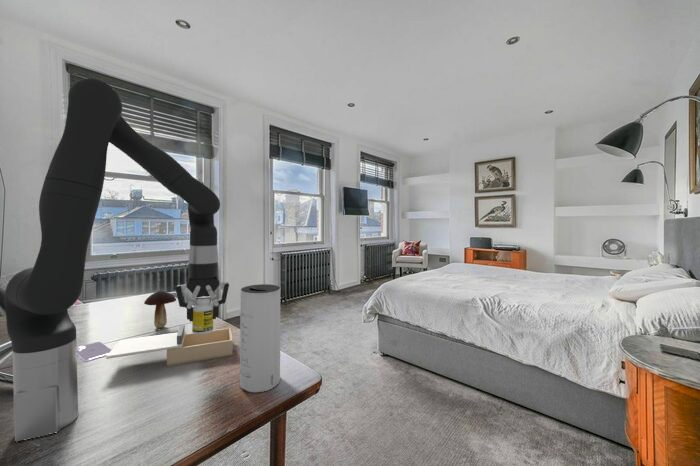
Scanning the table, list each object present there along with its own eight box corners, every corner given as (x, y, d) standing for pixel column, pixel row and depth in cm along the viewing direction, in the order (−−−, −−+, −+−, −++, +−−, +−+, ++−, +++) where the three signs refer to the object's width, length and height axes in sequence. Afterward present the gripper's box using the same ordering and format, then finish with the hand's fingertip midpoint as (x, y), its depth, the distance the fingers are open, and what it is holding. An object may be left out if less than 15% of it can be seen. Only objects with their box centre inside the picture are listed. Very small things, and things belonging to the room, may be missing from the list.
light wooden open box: (232, 355, 93) (232, 340, 93) (166, 366, 85) (166, 350, 85) (230, 341, 104) (230, 327, 104) (172, 350, 96) (172, 335, 96)
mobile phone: (84, 360, 88) (70, 348, 96) (84, 363, 88) (71, 351, 96) (115, 351, 94) (100, 340, 102) (115, 354, 94) (100, 343, 102)
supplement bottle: (204, 335, 80) (204, 300, 80) (187, 334, 81) (188, 299, 81) (217, 329, 85) (217, 296, 85) (201, 327, 86) (201, 295, 86)
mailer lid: (181, 347, 87) (181, 336, 87) (106, 358, 79) (106, 347, 79) (185, 333, 98) (185, 323, 97) (119, 342, 90) (119, 331, 90)
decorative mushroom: (143, 327, 117) (142, 290, 117) (174, 321, 124) (173, 286, 124) (145, 335, 109) (144, 295, 108) (178, 328, 116) (178, 291, 115)
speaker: (288, 383, 77) (288, 286, 76) (250, 399, 70) (250, 293, 69) (268, 368, 85) (268, 280, 84) (233, 381, 78) (232, 285, 77)
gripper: (172, 263, 77) (172, 326, 77) (231, 261, 82) (230, 320, 83) (176, 260, 83) (176, 318, 84) (230, 259, 89) (229, 313, 90)
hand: (203, 319), depth 83 cm, fingers closed on supplement bottle, 5 cm apart
